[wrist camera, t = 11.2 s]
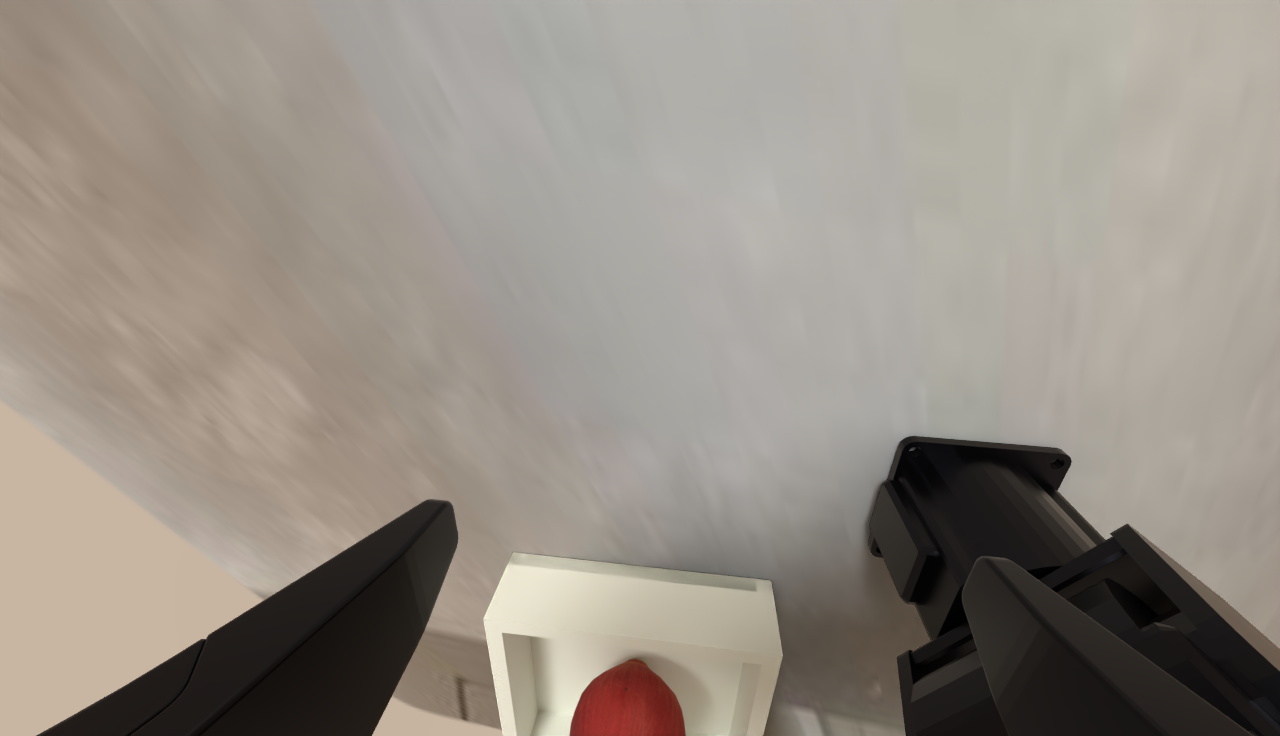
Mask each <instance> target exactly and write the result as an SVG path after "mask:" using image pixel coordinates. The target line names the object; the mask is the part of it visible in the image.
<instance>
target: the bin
mask: <svg viewBox="0 0 1280 736" xmlns="http://www.w3.org/2000/svg"><path fill="white" fill-rule="evenodd" d="M484 625H485V631H486V637H487V643H488V649H489V655H490V661H491V667H492V673H493V679H494V685H495V691H496V697H497V703H498V709H499V715H500V721H501V727H502V733H503V736H570V727H571V721H572V718H573V715H574V712H575V709H576V706H577V704H578V701H579V699H580V697H581V694H582V692H583V691H584V690H585V689H586V687H587V686H588V685H589V684H590V682H591V681H592V680H593V679H595V678H596V677H598V676H599V675H600V674H602V673H603V672H605V671H607V670H609V669H611V668H613V667H615V666H617V665H620V664H622V663H624V662H626V661H628V660H630V659H640V660H641V661H643V662H645V663H646V664H647V666H648V667H649V668H650V669H651V670H652V671H653V672H654V673H656V674H657V675H658V676H660V677H661V678H662V680H663V681H664V682H665V683H666V684H667V685H668V687H669V688H670V689H671V690H672V691H673V692H674V693H675V695H676V697H677V700H678V702H679V704H680V707H681V709H682V713H683V718H684V724H685V733H686V736H763V734H764V730H765V726H766V722H767V718H768V714H769V710H770V706H771V702H772V698H773V694H774V690H775V686H776V682H777V678H778V674H779V670H780V666H781V662H782V658H783V653H782V646H781V640H780V634H779V627H778V621H777V615H776V608H775V602H774V595H773V589H772V583H771V581H770V580H761V579H752V578H743V577H734V576H725V575H716V574H707V573H698V572H689V571H680V570H670V569H661V568H652V567H643V566H634V565H625V564H616V563H607V562H598V561H589V560H580V559H570V558H561V557H552V556H543V555H534V554H525V553H516V552H513V553H512V555H511V558H510V560H509V562H508V565H507V567H506V569H505V571H504V574H503V576H502V578H501V580H500V583H499V585H498V587H497V589H496V592H495V594H494V596H493V598H492V601H491V603H490V605H489V608H488V610H487V612H486V614H485V617H484Z"/></svg>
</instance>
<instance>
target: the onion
mask: <svg viewBox="0 0 1280 736" xmlns="http://www.w3.org/2000/svg"><path fill="white" fill-rule="evenodd" d="M570 736H686V733H685V724H684V718H683V713H682V709H681V707H680V704H679V702H678V700H677V697H676V695H675V693H674V692H673V691H672V690H671V689H670V688H669V687H668V685H667V684H666V683H665V682H664V681H663V680H662V678H661V677H660V676H658V675H657V674H656V673H654V672H653V671H652V670H651V669H650V668H649V667H648V666H647V664H646V663H645V662H643V661H641V660H640V659H630V660H628V661H626V662H624V663H622V664H620V665H617V666H615V667H613V668H611V669H609V670H607V671H605V672H603V673H602V674H600V675H599V676H598V677H596V678H595V679H593V680H592V681H591V682H590V684H589V685H588V686H587V687H586V689H585V690H584V691H583V692H582V694H581V697H580V699H579V701H578V704H577V706H576V709H575V712H574V715H573V718H572V721H571V727H570Z"/></svg>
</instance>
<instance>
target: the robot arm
mask: <svg viewBox="0 0 1280 736" xmlns="http://www.w3.org/2000/svg"><path fill="white" fill-rule="evenodd" d="M912 447H917V448H916V449H915V450H914V451H909V450H910V448H912ZM1055 459H1057V460H1056V461H1055V462H1053V463H1051V462H1052V461H1053V460H1055ZM1070 465H1071V458H1070V457H1069V456H1068V455H1067V454H1066V453H1065V452H1064V451H1062V450H1061V449H1058V448H1051V447H1039V446H1027V445H1015V444H1003V443H991V442H979V441H967V440H955V439H943V438H931V437H919V436H910V437H907V438H905V439H903V440H902V441H901V442H900V444H899V446H898V449H897V452H896V456H895V459H894V462H893V465H892V468H891V471H890V474H889V478H888V479H887V480H886V481H885V482H884V483H883V484H882V487H881V490H880V493H879V496H878V499H877V502H876V506H875V509H874V512H873V515H872V518H871V522H870V528H871V530H872V531H871V534H870V537H869V540H868V546H869V549H870V551H871V553H872V554H873V555H874V556H876V557H881V558H884V561H885V563H886V565H887V568H888V570H889V572H890V575H891V577H892V579H893V582H894V584H895V586H896V589H897V591H898V594H899V596H900V597H901V599H902V600H903V601H904V602H905V603H907V604H915V606H916V608H917V611H918V613H919V615H920V617H921V620H922V622H923V624H924V626H925V628H926V631H927V633H928V635H929V637H930V640H931V641H930V642H929V643H927V644H925V645H923V646H922V647H920V648H918V649H916V650H915V651H911V650H908V651H907V652H905V653H903V654H902V655H900V656H898V657H897V663H898V672H899V680H900V689H901V698H902V706H903V715H904V724H905V732H906V736H1280V649H1279V648H1278V647H1277V646H1276V645H1275V644H1273V643H1272V642H1271V641H1270V640H1269V639H1268V638H1267V637H1266V636H1264V635H1263V634H1262V633H1261V632H1260V631H1259V630H1258V629H1256V628H1255V627H1254V626H1253V625H1252V624H1251V623H1250V622H1248V621H1247V620H1246V619H1245V618H1244V617H1243V616H1242V615H1241V614H1239V613H1238V612H1237V611H1236V610H1235V609H1234V608H1233V607H1231V606H1230V605H1229V604H1228V603H1227V602H1226V601H1225V600H1223V599H1222V598H1221V597H1220V596H1219V595H1217V594H1216V593H1215V592H1214V591H1212V590H1211V589H1210V588H1209V587H1207V586H1206V585H1205V584H1204V583H1202V582H1201V581H1200V580H1198V579H1197V578H1196V577H1195V576H1193V575H1192V574H1191V573H1190V572H1188V571H1187V570H1186V569H1185V568H1183V567H1182V566H1181V565H1179V564H1178V563H1177V562H1176V561H1174V560H1173V559H1172V558H1171V557H1169V556H1168V555H1167V554H1165V553H1164V552H1163V551H1162V550H1160V549H1159V548H1158V547H1157V546H1155V545H1154V544H1153V543H1152V542H1150V541H1149V540H1148V539H1146V538H1145V537H1144V536H1143V535H1141V534H1140V533H1139V532H1138V531H1136V530H1135V529H1134V528H1133V527H1131V526H1130V525H1129V524H1126V525H1124V526H1122V527H1121V528H1119V529H1117V530H1116V531H1114V532H1112V533H1110V534H1111V535H1112V536H1113V537H1111V538H1109V539H1107V540H1105V539H1104V538H1103V537H1102V536H1101V535H1100V534H1099V533H1098V532H1097V531H1096V530H1095V529H1094V528H1093V527H1092V526H1091V525H1090V524H1089V523H1088V522H1087V521H1086V520H1085V519H1084V518H1083V517H1082V516H1081V515H1080V514H1079V513H1078V512H1077V510H1076V509H1075V508H1074V507H1073V506H1072V505H1071V504H1070V503H1069V502H1068V501H1067V500H1066V499H1065V498H1064V497H1063V496H1062V495H1061V494H1060V493H1059V492H1058V491H1057V490H1058V488H1059V487H1060V485H1061V483H1062V481H1063V479H1064V477H1065V475H1066V473H1067V471H1068V469H1069V467H1070ZM457 543H458V531H457V526H456V520H455V514H454V509H453V505H452V504H451V503H450V502H449V501H444V500H434V499H429V500H426V501H424V502H422V503H420V504H419V505H417V506H416V507H414V508H412V509H411V510H409V511H408V512H406V513H404V514H403V515H401V516H400V517H398V518H396V519H395V520H393V521H391V522H390V523H388V524H387V525H385V526H383V527H382V528H380V529H379V530H377V531H375V532H374V533H372V534H370V535H369V536H367V537H366V538H364V539H362V540H361V541H359V542H358V543H356V544H354V545H353V546H351V547H350V548H348V549H346V550H345V551H343V552H341V553H340V554H338V555H337V556H335V557H333V558H332V559H330V560H329V561H327V562H325V563H324V564H322V565H320V566H319V567H317V568H316V569H314V570H312V571H311V572H309V573H308V574H306V575H304V576H303V577H301V578H300V579H298V580H296V581H295V582H293V583H291V584H290V585H288V586H287V587H285V588H283V589H282V590H280V591H279V592H277V593H275V594H274V595H272V596H270V597H269V598H267V599H266V600H264V601H262V602H261V603H259V604H258V605H256V606H255V607H253V608H251V609H250V610H248V611H246V612H245V613H243V614H241V615H240V616H238V617H237V618H235V619H233V620H232V621H230V622H229V623H227V624H225V625H224V626H222V627H220V628H219V629H217V630H216V631H214V632H212V633H211V634H209V635H208V637H207V639H201V640H199V641H198V642H196V643H194V644H193V645H191V646H190V647H188V648H186V649H185V650H183V651H182V652H180V653H178V654H177V655H175V656H173V657H172V658H170V659H168V660H167V661H165V662H163V663H162V664H160V665H158V666H157V667H155V668H154V669H152V670H150V671H149V672H147V673H145V674H144V675H142V676H141V677H139V678H137V679H135V680H134V681H132V682H130V683H129V684H127V685H125V686H124V687H122V688H120V689H118V690H117V691H115V692H113V693H111V694H110V695H108V696H106V697H104V698H103V699H101V700H99V701H97V702H96V703H94V704H92V705H90V706H88V707H87V708H85V709H83V710H81V711H80V712H78V713H77V714H74V715H73V716H71V717H69V718H67V719H66V720H64V721H62V722H60V723H58V724H57V725H55V726H53V727H51V728H49V729H48V730H46V731H44V732H42V733H40V734H39V735H37V736H372V734H373V732H374V730H375V728H376V726H377V724H378V722H379V720H380V718H381V716H382V714H383V712H384V710H385V709H386V706H387V705H388V703H389V700H390V698H391V697H392V695H393V693H394V691H395V689H396V687H397V685H398V683H399V681H400V679H401V677H402V675H403V673H404V671H405V669H406V667H407V665H408V663H409V661H410V659H411V657H412V655H413V653H414V651H415V649H416V647H417V645H418V643H419V641H420V639H421V637H422V634H423V632H424V630H425V628H426V625H427V623H428V621H429V618H430V616H431V613H432V610H433V608H434V605H435V603H436V600H437V597H438V595H439V592H440V590H441V587H442V584H443V582H444V579H445V576H446V574H447V571H448V569H449V566H450V563H451V561H452V558H453V556H454V553H455V550H456V548H457Z"/></svg>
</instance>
